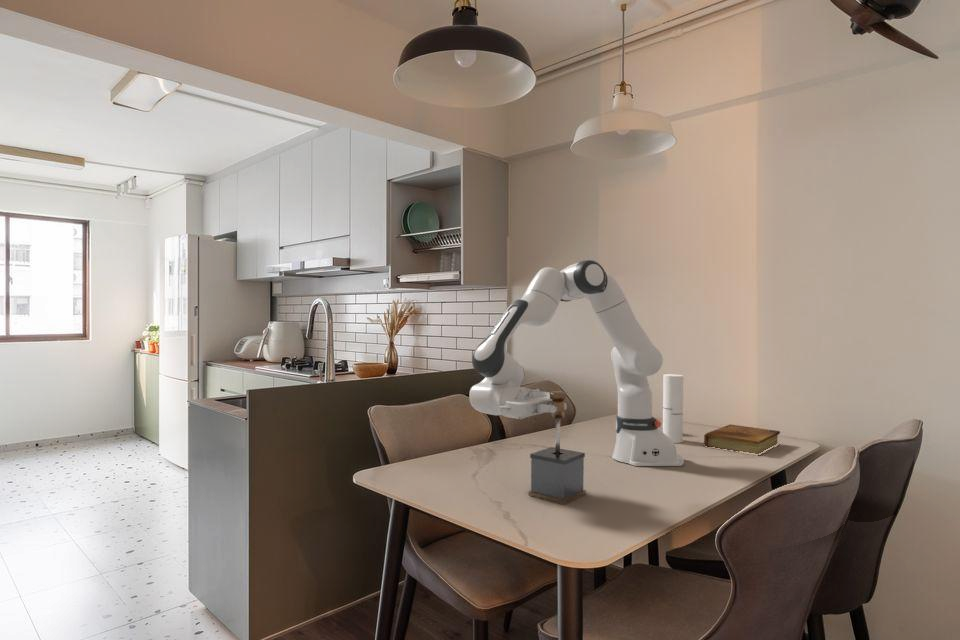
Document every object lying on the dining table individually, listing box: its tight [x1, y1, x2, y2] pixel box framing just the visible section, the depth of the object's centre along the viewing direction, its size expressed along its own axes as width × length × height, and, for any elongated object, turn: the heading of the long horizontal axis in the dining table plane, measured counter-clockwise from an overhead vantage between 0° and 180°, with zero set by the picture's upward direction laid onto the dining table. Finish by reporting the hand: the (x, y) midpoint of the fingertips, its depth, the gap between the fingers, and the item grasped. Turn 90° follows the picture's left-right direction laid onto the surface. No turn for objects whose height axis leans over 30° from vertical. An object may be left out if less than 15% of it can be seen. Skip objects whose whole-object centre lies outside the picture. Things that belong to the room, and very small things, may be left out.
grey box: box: [528, 446, 587, 505], centre depth 151 cm, size 11×11×11 cm
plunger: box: [549, 390, 567, 455], centre depth 151 cm, size 8×8×19 cm
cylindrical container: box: [662, 373, 684, 444], centre depth 215 cm, size 7×7×25 cm
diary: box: [703, 423, 781, 454], centre depth 208 cm, size 23×19×6 cm
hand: (560, 408), depth 150 cm, fingers closed on plunger, 3 cm apart
